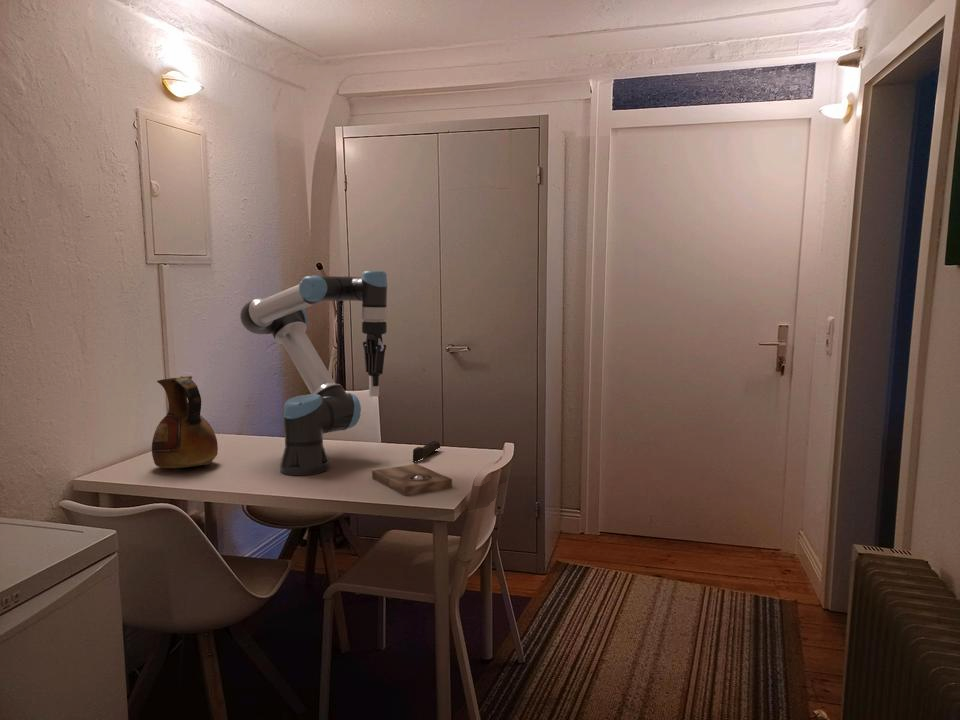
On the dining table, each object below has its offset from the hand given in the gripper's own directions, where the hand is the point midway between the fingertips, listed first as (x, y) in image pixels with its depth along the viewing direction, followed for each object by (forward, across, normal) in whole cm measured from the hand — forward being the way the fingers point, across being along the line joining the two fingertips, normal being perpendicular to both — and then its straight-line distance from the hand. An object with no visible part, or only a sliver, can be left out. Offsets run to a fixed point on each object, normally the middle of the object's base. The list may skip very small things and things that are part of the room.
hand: (374, 395), depth 218 cm
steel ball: (+21, -25, -3) cm, 33 cm away
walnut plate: (+23, -21, -3) cm, 31 cm away
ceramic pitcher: (+26, +36, +50) cm, 67 cm away
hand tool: (+24, +6, -22) cm, 33 cm away
